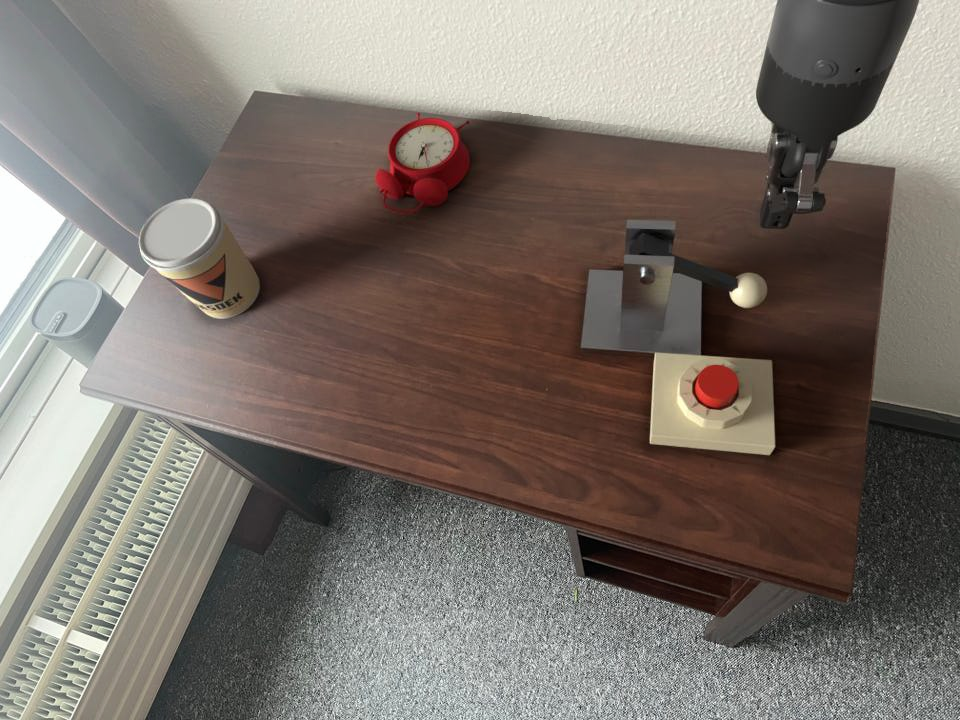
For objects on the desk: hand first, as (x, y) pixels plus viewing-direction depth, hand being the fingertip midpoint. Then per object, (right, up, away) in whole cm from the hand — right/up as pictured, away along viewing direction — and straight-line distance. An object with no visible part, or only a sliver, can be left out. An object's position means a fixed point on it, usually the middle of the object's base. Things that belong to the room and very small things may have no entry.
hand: (772, 221), depth 57 cm
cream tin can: (-55, -3, +26) cm, 61 cm away
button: (-2, -15, +7) cm, 16 cm away
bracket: (-7, -7, +16) cm, 19 cm away
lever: (-4, -4, +9) cm, 11 cm away
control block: (-2, -16, +10) cm, 19 cm away
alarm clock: (-31, +12, +30) cm, 45 cm away
